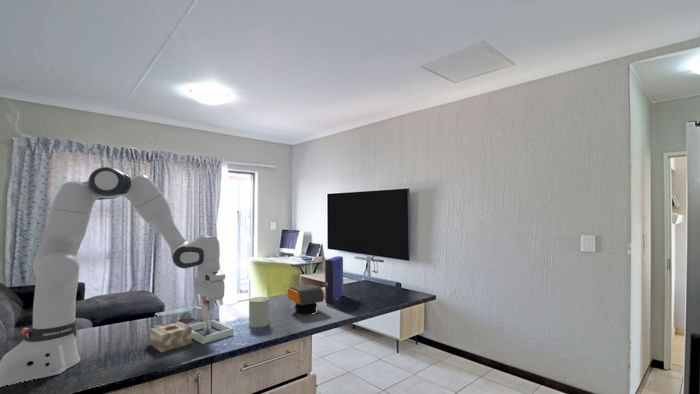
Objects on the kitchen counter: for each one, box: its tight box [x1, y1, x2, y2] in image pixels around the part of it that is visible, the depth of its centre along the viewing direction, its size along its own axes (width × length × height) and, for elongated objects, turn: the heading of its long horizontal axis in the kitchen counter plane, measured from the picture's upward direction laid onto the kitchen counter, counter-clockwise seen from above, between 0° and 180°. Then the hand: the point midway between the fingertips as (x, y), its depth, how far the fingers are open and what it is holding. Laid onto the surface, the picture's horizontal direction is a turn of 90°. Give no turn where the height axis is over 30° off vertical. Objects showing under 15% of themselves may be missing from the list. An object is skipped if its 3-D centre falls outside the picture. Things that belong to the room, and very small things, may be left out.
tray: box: [188, 320, 234, 345], centre depth 142 cm, size 13×18×4 cm
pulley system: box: [153, 311, 220, 328], centre depth 160 cm, size 27×5×15 cm
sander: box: [287, 283, 325, 316], centre depth 180 cm, size 15×25×13 cm, turn 34°
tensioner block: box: [149, 321, 193, 353], centre depth 132 cm, size 11×11×7 cm
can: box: [248, 296, 270, 329], centre depth 157 cm, size 9×9×12 cm
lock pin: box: [202, 299, 213, 336], centre depth 142 cm, size 3×3×14 cm
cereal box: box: [324, 255, 344, 303], centre depth 202 cm, size 17×5×24 cm, turn 161°
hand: (208, 307), depth 143 cm, fingers open, 4 cm apart
